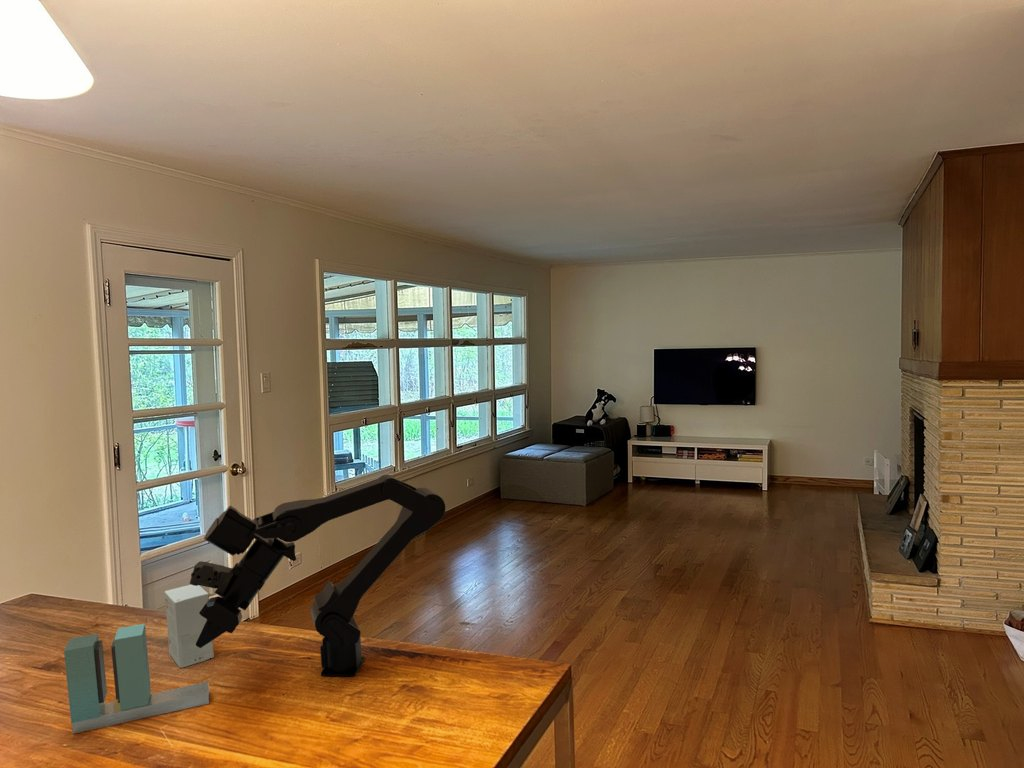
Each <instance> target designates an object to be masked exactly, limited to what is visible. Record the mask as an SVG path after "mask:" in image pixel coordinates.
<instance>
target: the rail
mask: <svg viewBox="0 0 1024 768" xmlns="http://www.w3.org/2000/svg"><path fill="white" fill-rule="evenodd" d="M103 644H104V643H103V640H102V639H101V640H99V633H94V634H87V635H82V636H78V637H72V638H71V637H70V638H69V639H68V642H67V644H66V645H65V648H64V650H63V656H64V662H65V663H64V664H65V665H64V666H65V674H66V675H65V676H66V683H67V684H66V685H67V691H68V692H67V695H68V703H69V704H68V705H69V712H70V713H69V716H70V723H71V724H72V725H71V726H72V727H71V728H72V734H73V735H74V734H78V733H79V734H80V733H83V732H88V731H92V730H97V729H101V728H105V727H111V726H114V725H120V724H125V723H129V722H132V721H137V720H142V719H146V718H150V717H155V716H159V715H165V714H168V713H174V712H177V711H181V710H186V709H187V710H188V709H191V708H195V707H200V706H204V705H209V704H210V686H209V685H210V684H209V681H206V682H205V681H204V682H200V683H195V684H190V685H186V686H182V687H177V688H172V689H167V690H163V691H158V692H153V693H152V692H151V694H150V699H149V704H148V705H145V706H141V707H136V708H131V709H127V710H122V711H121V707H120V699H118V700H116V695H114V696H115V697H114V698H113V701H111V702H105V700H106V697H107V693H108V688H107V686H108V685H107V676H106V665H105V656H104V646H103Z"/></svg>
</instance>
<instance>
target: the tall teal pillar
mask: <svg viewBox="0 0 1024 768" xmlns="http://www.w3.org/2000/svg"><path fill="white" fill-rule="evenodd" d="M146 631H147V630H146V623H141V624H140V623H139V624H136V625H129V626H123V627H118V628H117V631H116V633H115V637H114V638H113V641H112V644H111V647H110V648H111V659H112V660H111V661H112V669H113V679H114V680H113V681H114V690H115V691H114V692H115V696H116V700H118V699H120V707H121V711H122V710H127V709H131V708H136V707H141V706H145V705H148V704H149V699H150V694H152V687H151V677H150V676H151V675H150V665H149V664H150V663H149V653H148V644H147V642H148V641H147V632H146Z"/></svg>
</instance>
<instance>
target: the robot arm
mask: <svg viewBox="0 0 1024 768" xmlns="http://www.w3.org/2000/svg"><path fill="white" fill-rule="evenodd" d="M388 500H390V501H392V502H394V503H396V504H397V505H399V506H401V510H400V511H399V514H398V517H397V519H396V521H395V522H394V524H393V525H392V526H390V528H389V529H388V531H387V532H386V533H385V534H383V536H382V537H381V538H380V539H379V541H378V542H377V543H376V544H375V545H374V546H373V548H371V550H369V552H368V553H367V554H366V555H365V556H364V557H363V558H362V559H361V560H360V562H359V563H358V564H356V566H355V567H354V569H352V571H350V573H349V574H348V575H347V576H346V578H344V579H343V580H342V581H340V582H337V584H333V583H332V582H331V580H328V581H327V582H326V584H325V585H324V587H323V588H322V590H320V591H319V592H318V593H317V594H316V595H314V596H313V599H314V601H313V603H312V605H311V607H310V609H311V610H310V613H311V614H310V616H311V618H312V621H313V624H314V627H315V630H316V632H317V633H318V634H319V635H321V636H322V639H321V645H320V647H319V648H320V649H319V651H320V663H321V665H320V666H321V668H322V670H321V671H320V676H322V677H330V676H331V677H355V676H356V675H357V674H358V672H359V671H360V669H361V667H362V666H363V664H364V662H365V660H366V658H365V656H362V640H361V639H362V638H361V634H362V632H361V629H360V627H359V626H358V623H357V621H356V619H355V613H356V610H357V609H358V606H359V604H360V602H361V600H362V598H363V596H364V595H365V594H366V593H367V592H368V591H369V589H370V588H371V587H372V586H373V585H374V583H376V582H377V580H378V579H379V578H380V577H381V576H382V574H384V573H385V572H386V570H387V569H388V568H389V566H391V565H392V563H393V562H394V561H395V560H396V559H397V558H398V556H399V555H400V554H401V553H402V552H403V551H404V550H405V548H406V547H407V546H409V544H410V543H411V542H412V541H413V540H414V539H415V538H417V537H419V536H420V535H421V536H422V535H423V534H424V533H426V532H429V530H431V529H432V528H433V527H434V526H436V525H437V524H438V523H439V522H440V521H441V520H442V519H443V518H444V516H445V515H446V504H445V500H444V499H443V498H442V497H441V496H440V495H438V494H437V493H436V492H434V491H433V490H432V489H430V488H427V487H418V488H417V487H415V486H413V485H411V484H408V483H406V482H404V481H401V480H399V479H397V478H395V477H394V476H393V475H391V474H383V475H381V476H380V477H378V478H375V479H372V480H369V481H367V482H366V481H365V482H364V483H361V484H358V485H355V486H352V487H348V488H347V489H343V490H341V491H337V492H333V493H332V494H329V495H326V496H324V497H319V498H313V499H311V498H310V499H298V500H294V501H288V502H283V503H280V504H279V505H277V506H276V507H275V508H274V510H273V511H272V512H269V513H266V514H263V515H261V516H258V517H255V518H253V519H251V518H250V517H248V516H247V515H245V514H243V513H241V512H240V511H239V510H238V509H237V508H235V507H234V506H232V505H229V506H228V507H227V508H226V510H224V511H223V512H222V513H221V514H219V516H218V517H216V518H215V519H214V521H213V522H212V524H211V525H210V527H209V528H208V530H207V531H206V533H205V535H204V537H203V540H204V541H206V542H208V543H209V544H211V545H213V546H215V547H216V548H218V549H220V550H222V551H224V552H225V553H227V554H229V555H231V556H232V557H233V556H235V555H238V556H240V554H242V555H243V554H244V555H243V556H242V558H241V559H240V561H239V562H236V563H235V565H234V566H233V567H229V566H225V565H222V564H217V563H212V562H207V561H198V562H197V563H195V565H194V567H193V571H192V572H191V574H190V580H189V585H195V586H198V585H200V586H201V587H206V588H211V589H216V590H215V591H214V594H216V595H218V596H215V597H214V596H213V597H209V600H208V602H207V603H206V604H205V606H204V607H203V608H202V610H201V611H200V612H199V614H200V615H201V616H203V617H204V618H206V619H207V621H206V623H205V625H204V627H203V629H202V632H201V634H200V636H199V638H198V640H197V642H196V646H197V647H199V648H202V647H203V646H205V645H206V644H208V643H209V642H211V641H212V640H213V641H214V640H215V639H217V638H219V637H220V636H221V635H223V634H224V633H226V632H227V633H229V634H233V632H234V631H235V630H236V629H237V627H239V624H240V622H241V621H242V619H243V614H242V610H243V611H246V610H247V608H248V607H250V605H251V604H252V602H253V600H254V598H255V597H256V596H257V594H258V593H259V591H260V590H261V589H262V588H263V587H264V586H265V583H266V582H267V580H268V579H269V578H270V577H271V575H272V574H273V573H274V571H275V569H276V568H277V567H278V565H279V564H280V563H281V561H282V560H283V558H284V557H285V558H287V559H289V560H290V561H292V562H295V561H297V557H296V552H295V551H296V544H295V542H296V541H299V540H300V539H302V538H304V537H306V536H308V535H310V534H311V533H313V532H315V531H316V530H317V529H318V528H319V527H321V526H322V525H324V524H326V523H327V522H329V521H331V520H334V519H337V518H340V517H343V516H346V515H349V514H351V513H354V512H357V511H359V510H362V509H364V508H367V507H368V508H369V507H370V506H373V505H377V504H380V503H382V502H385V501H388ZM254 539H255V540H254ZM252 542H253V543H252ZM250 545H251V546H250ZM247 549H248V550H247ZM239 608H240V609H239ZM241 609H242V610H241Z"/></svg>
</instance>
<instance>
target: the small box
mask: <svg viewBox="0 0 1024 768" xmlns="http://www.w3.org/2000/svg"><path fill="white" fill-rule="evenodd" d="M209 599H210V594H209V592H208V591H206V589H204V588H203V586H200V585H198V586H195V585H191V584H188V585H184V586H180V587H176V588H171V589H168V590H164V601H165V602H164V603H165V614H166V615H165V616H166V628H167V629H166V631H167V640H168V652H169V653H168V654H169V655H170V657H171V658H172V660H173V661H174V662H175V664H176V665H177V666H178V667H179V668H180V669H183V668H186V667H189V666H191V665H195V664H199V663H202V662H204V661H208V660H211V659H212V658H215V656H214V655H215V653H214V642H213V641H214V640H212V641H211V642H209V643H208V644H206V645H205V646H203V647H202V648H199V647H197V646H196V642H197V640H198V638H199V636H200V634H201V632H202V629H203V627H204V625H205V623H206V621H207V619H206V618H204V617H203V616H201V615H200V614H199V612H200V611H201V610H202V608H203V607H204V606H205V604H206V603H207V602H208V600H209ZM210 658H211V659H210Z"/></svg>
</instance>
